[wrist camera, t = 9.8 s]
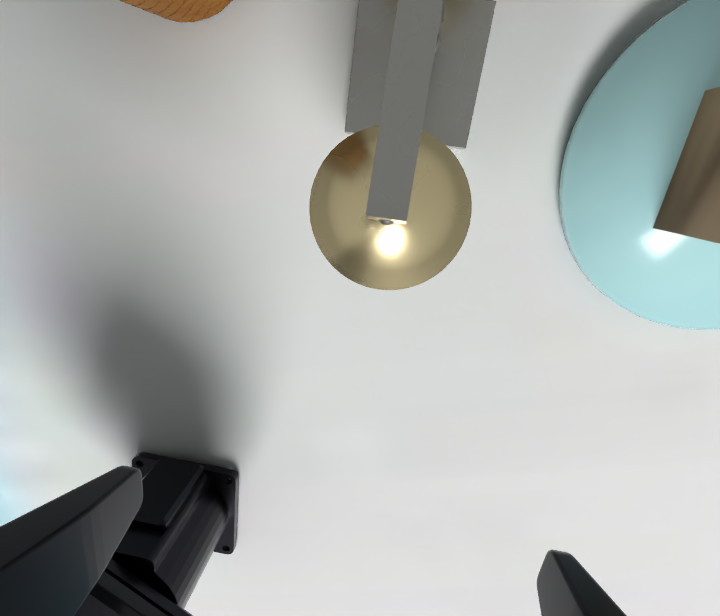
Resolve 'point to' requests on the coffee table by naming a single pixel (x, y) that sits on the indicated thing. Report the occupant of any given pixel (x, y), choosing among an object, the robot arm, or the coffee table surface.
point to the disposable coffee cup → (181, 8)
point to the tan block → (696, 178)
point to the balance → (403, 143)
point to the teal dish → (644, 173)
